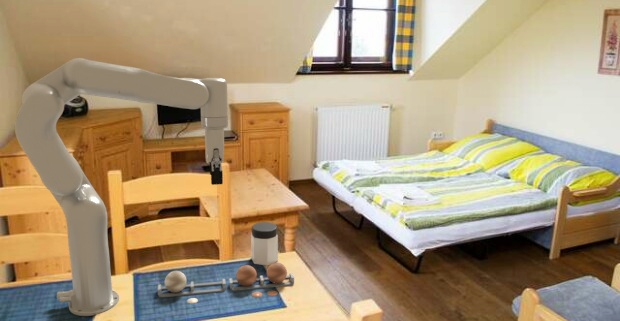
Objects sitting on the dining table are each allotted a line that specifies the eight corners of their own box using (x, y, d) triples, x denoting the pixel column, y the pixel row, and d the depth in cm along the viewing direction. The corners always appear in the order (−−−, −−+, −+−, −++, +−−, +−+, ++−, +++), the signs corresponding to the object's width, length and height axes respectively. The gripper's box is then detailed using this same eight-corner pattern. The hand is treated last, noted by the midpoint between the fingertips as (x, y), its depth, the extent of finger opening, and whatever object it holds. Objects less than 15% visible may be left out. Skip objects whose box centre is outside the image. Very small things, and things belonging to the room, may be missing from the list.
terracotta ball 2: (268, 287, 148) (268, 269, 146) (265, 278, 153) (265, 259, 152) (288, 286, 149) (288, 267, 147) (284, 276, 155) (285, 258, 153)
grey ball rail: (157, 299, 141) (157, 291, 141) (158, 290, 146) (158, 282, 146) (294, 286, 150) (294, 279, 149) (291, 278, 155) (291, 271, 154)
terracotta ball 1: (237, 290, 146) (236, 271, 144) (235, 280, 151) (235, 262, 150) (258, 288, 147) (257, 269, 146) (255, 279, 153) (255, 260, 151)
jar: (249, 256, 169) (249, 222, 166) (273, 253, 171) (273, 220, 168) (254, 268, 161) (254, 233, 158) (279, 265, 163) (280, 230, 160)
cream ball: (164, 297, 141) (163, 277, 140) (165, 287, 147) (164, 268, 146) (186, 295, 143) (185, 276, 141) (187, 285, 148) (186, 266, 147)
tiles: (175, 308, 137) (175, 306, 137) (175, 300, 141) (175, 298, 141) (281, 297, 144) (281, 295, 143) (279, 290, 147) (279, 289, 147)
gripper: (200, 117, 153) (202, 171, 157) (201, 127, 136) (203, 188, 141) (225, 116, 154) (227, 170, 159) (230, 127, 138) (231, 187, 142)
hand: (216, 179), depth 150 cm, fingers open, 9 cm apart
